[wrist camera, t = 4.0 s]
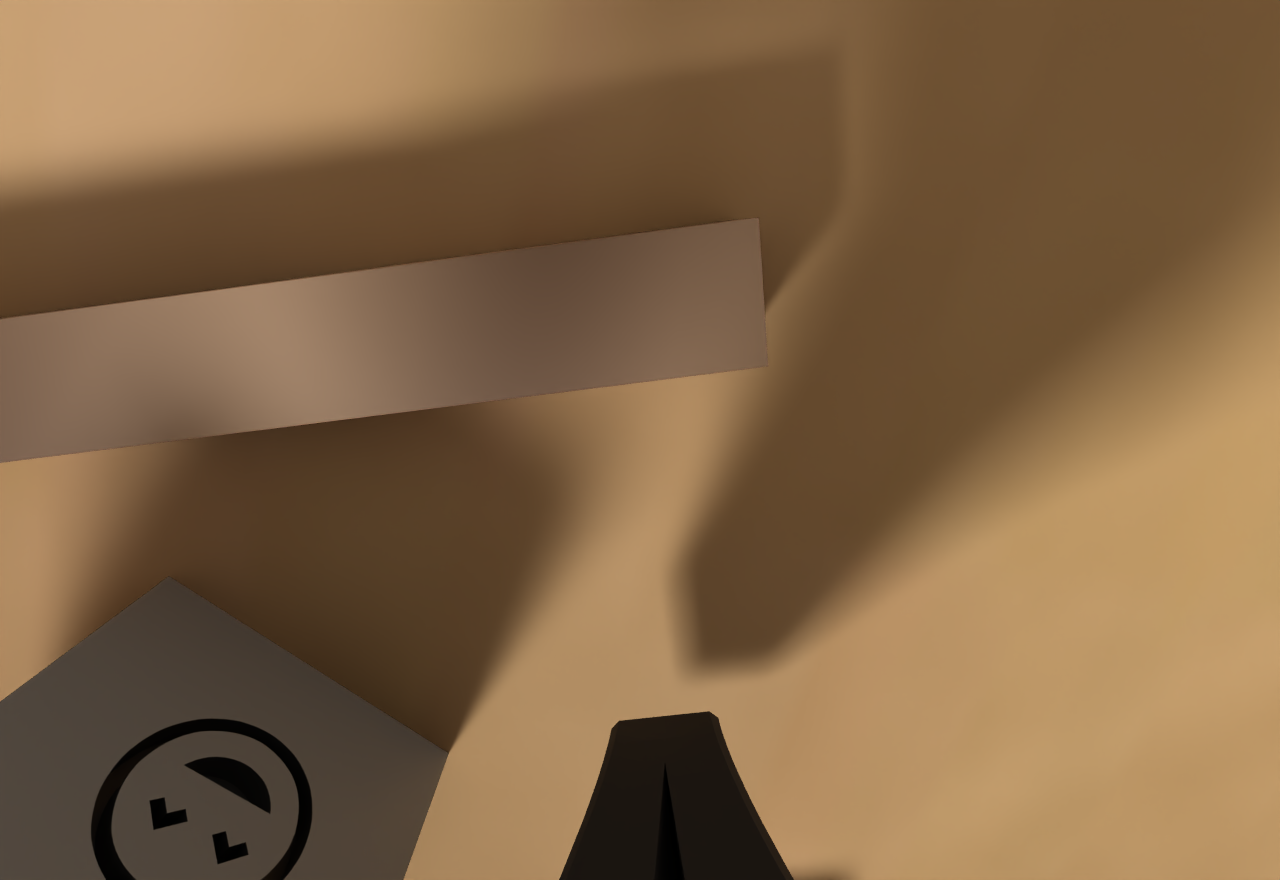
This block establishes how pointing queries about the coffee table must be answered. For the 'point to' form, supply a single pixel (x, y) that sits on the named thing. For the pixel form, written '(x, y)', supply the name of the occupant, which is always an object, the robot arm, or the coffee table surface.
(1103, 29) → the coffee table surface
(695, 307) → the guide channel
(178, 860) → the dice cube
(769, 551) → the coffee table surface
